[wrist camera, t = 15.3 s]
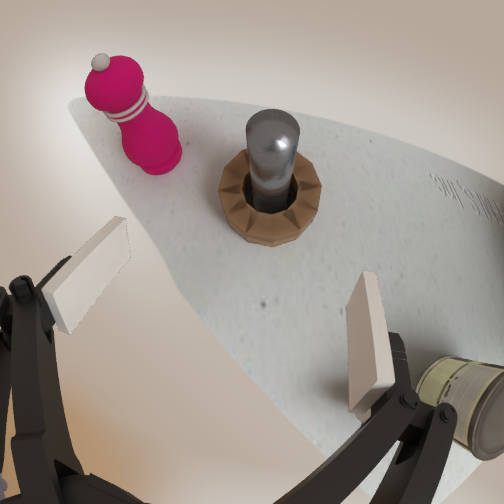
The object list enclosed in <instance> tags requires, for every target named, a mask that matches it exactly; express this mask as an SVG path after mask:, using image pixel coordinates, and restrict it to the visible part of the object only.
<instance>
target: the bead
mask: <svg viewBox="0 0 504 504" xmlns="http://www.w3.org/2000/svg"><path fill="white" fill-rule="evenodd" d="M251 187H252V184H251V175H250V165H249V156H248V149H245V150H242V151H241V152H240V153H239V154H238V155H237V156H236V157H235V158H234V159H233V160H232V161H231V162H230V163H229V164H227V165H226V166H225V168H224V171H223V175H222V179H221V182H220V186H219V189H218V192H219V195H220V199H221V202H222V205H223V208H224V212H225V215H226V218H227V220H228V222H229V225H230V226H231V227H232V228H233V229H234V230H235V231H236V232H238V233H239V234H240V235H241V236H242V237H243V238H244V239H245V240H247V241H248V242H251V243H256V244H261V245H265V246H270V247H274V246H277V245H280V244H283V243H287V242H290V241H293V240H296V239H297V238H298V237H299V236H300V234H301V233H302V232H303V231H304V230H305V229H306V228H307V227H308V225H309V224H310V223H311V222H312V220H313V218H314V217H315V215H316V213H317V211H318V206H319V199H320V193H321V187H322V186H321V183H320V181H319V178H318V176H317V174H316V171H315V169H314V167H313V165H312V163H311V162H310V161H308V160H307V159H306V158H305V157H303V156H302V155H301V154H299V153H298V152H297V151H296V156H295V161H294V167H293V172H292V177H291V182H290V187H289V188H290V189H291V192H292V195H293V197H294V200H295V201H294V203H293V204H292V205H291V206H290V207H289V208H288V209H287V210H285V211H282V212H279V213H276V214H267V213H262V212H257V211H256V210H255V209H254V208H252V207H251V206H250V205H249V204H248V203H246V201H245V198H246V194H247V191H248V190H249V189H250V188H251Z"/></svg>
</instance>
